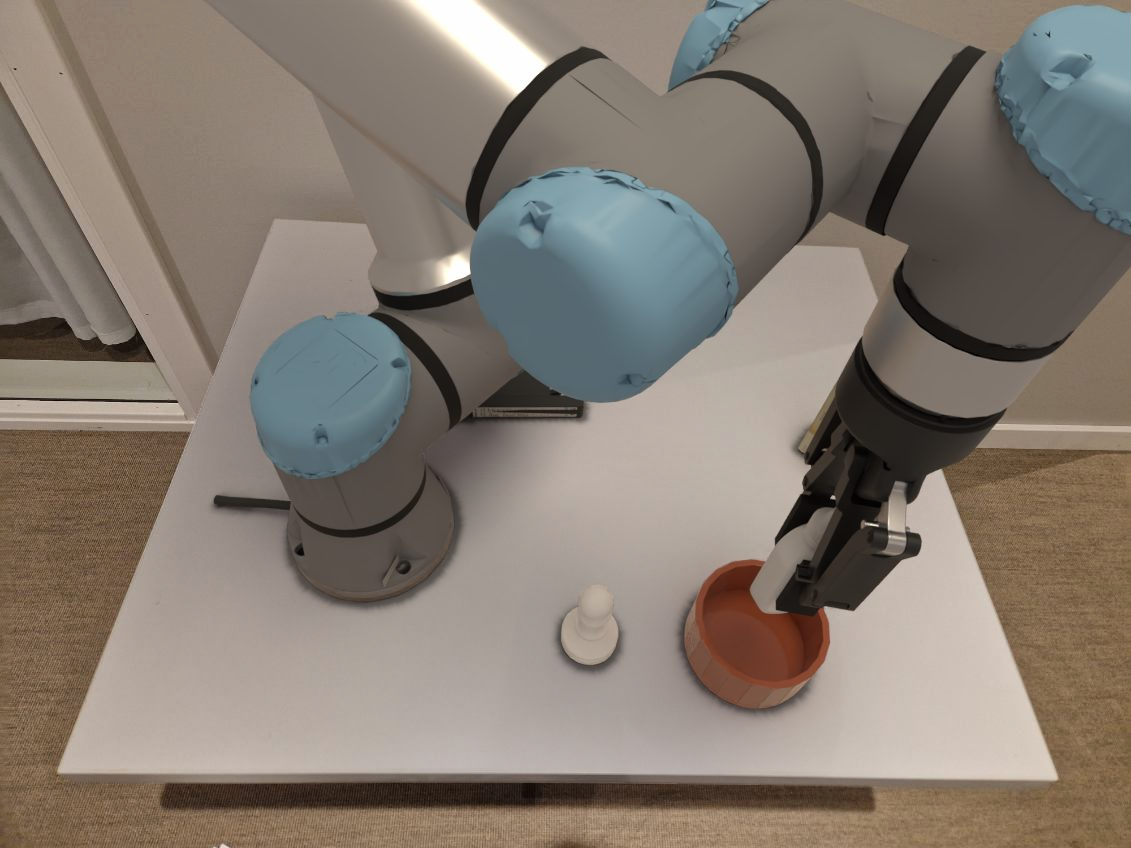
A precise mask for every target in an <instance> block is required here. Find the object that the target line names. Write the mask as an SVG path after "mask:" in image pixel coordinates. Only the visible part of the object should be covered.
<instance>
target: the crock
mask: <svg viewBox="0 0 1131 848" xmlns="http://www.w3.org/2000/svg"><path fill="white" fill-rule="evenodd" d="M765 561H766V560H759V559H755V558H753V559H751V558H750V559H742V560H734V561H731V562H728V563H727V564H725V565H722V566H720V567H718V568H716V569H715V570H714V571H713V572H712V573H711V574H710V575H709V576H708V577H707V578H706V579H705V580H704V581H703V583H702V584H701V587H700V589H699V591H698V592H697V595H696V597H695V599H694V601H693V604H692V606H691V608H690V610H689V613H688V615H687V617H686V620H685V625H684V630H683V643H684V650H685V653H686V658H687V660H688V663H689V665H690V666H691V669H692V670H693V672H694V674H695V675H696V677H697V678H698V679H699V681H700V682H701V683H702V684H703V685H704V686H705V687H706V688H707V689H708V690H709V691H710V692H712V693H713V694H714V695H716V696H717V697H718V698H720V699H721V700H724V701H725V702H727V703H729V704H732V705H734V706H738V707H742V708H745V709H755V710H756V709H757V710H758V709H768V708H773V707H776V706H778V705H781V704H783V703H785V702H786V701H788V700H790V698H792V697H794V696H795V695H796V694H797V693H798V692H799V691H800V690H801V689H802V688H803V687H804V686H805V685H806V684H807V683H808V682H809V681H810V680H811V679H812V678H813V677H814V675H815V674H816V673H817V672H818V671H819V669H820V668H821V667H822V665H823V664H824V663H825V661H826V659H827V655H828V651H829V648H830V645H831V635H830V622H829V618H828V616H827V614H826V610H825V607H824V608H820V609H819V610H818V612H817V613H816V614H815V615H814V617H812V616H806V615H800V614H795V613H789V612H788V613H781V614H768V613H764V612H762V611H761V610H760V609H759V607H758V606H757V604H756V602H755V600H754V599H753V597H752V595H751V593H750V587H751V585H752V583H753V582H754V580H755V578H756V577H757V575H758V573H759V571H760V570H761V568H762V566H763V565H764V563H765Z"/></svg>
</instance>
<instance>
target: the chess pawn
mask: <svg viewBox="0 0 1131 848" xmlns="http://www.w3.org/2000/svg"><path fill="white" fill-rule="evenodd" d="M614 602H615V600H614V596H613V594H612V592H611V590H609V589H608V588H607V587H606V586H604V585H602V584H591V585H589V586H586V587H585V588H583V590H582V591H581V592H580V595H579V598H578V604H577V606H576V607H574V608H573V609H571V610H570V611H569V612H568V613H567V614H566V616H565V617H564V619H563V621H562V624H561V629H560V641H561V646H562V648H563V650H564V652H565V653H566V655H568V657H569V658H570V659H572V660H573V661H574V662H576V663H579V664H581V665H585V666H586V665H587V666H594V665H598V664H601V663H603V662H605V661H607V660H608V659H609V658H610V657H611V656H612V654H613V653H614V652H615V650H616V646H617V643H618V640H619V627H618V623H617V621H616V619H615V618H614V616H613V614H612V613H613V612H612V611H613V609H614V604H615V603H614Z"/></svg>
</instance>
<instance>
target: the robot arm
mask: <svg viewBox="0 0 1131 848" xmlns="http://www.w3.org/2000/svg"><path fill="white" fill-rule="evenodd" d="M203 1H204V3H206V4H207V5H208V6H209V7H211V8H212V9H213V11H215V12H217V14H219V15H220V16H221V17H223V19H225V20H226V21H227V22H228V23H230V24H231V25H232V26H233V27H234V28H235V29H237V30H238V31H239V32H240V33H242V35H244V36H245V37H246V38H247V39H248V40H249V41H251V42H252V43H253V44H254V45H255V46H257V47H258V48H259V49H260V50H261V51H262V52H263V53H264V54H266V55H267V56H268V57H270V58H271V59H272V61H274V62H275V63H277V64H278V65H279V66H280V67H281V68H283V69H284V71H286V72H287V73H288V74H290V75H291V76H292V77H293V78H294V79H295V80H297V81H298V82H299V83H300V84H301V85H302V86H303V87H305V89H307V90H308V91H310V94H311V96H312V97H313V100H314V102H315V105H316V107H317V109H318V112H319V114H320V116H321V119H322V121H323V123H324V126H325V128H326V131H327V134H328V136H329V139H330V140H331V143H332V146H333V148H334V150H335V152H336V155H337V157H338V160H339V162H340V165H341V167H342V170H343V172H344V175H345V177H346V179H347V182H348V184H349V187H350V188H351V191H352V193H353V196H354V199H355V201H356V203H357V205H358V208H359V211H360V213H361V215H362V218H363V221H364V222H365V225H366V227H367V230H368V233H369V234H370V237H371V239H372V242H373V244H374V247H375V249H376V253H375V255H374V257H373V259H372V261H371V263H370V265H369V267H368V271H367V277H368V278H367V279H368V281H369V284H370V286H371V289H372V290H373V292H374V295H375V298H376V300H377V303H378V307H377V308H376V309H373V311H371V312H370V313H369V314H362V313H359V312H347V311H344V312H337V313H336V314H335V316H334V317H333V318H327V316H326V315H324V314H322V315H317V316H314V317H310V318H309V319H306V320H304V321H302V322H299V323H297V324H296V325H294V326H292V327H290V328H289V329H288V330H286V331H285V332H283V333H282V334H281V335H280V336H279V337H277V338H276V339H275V340H274V341H273V342H272V343H271V344H270V345H269V346H268V347H267V349H266V350H265V352H264V353H263V354H262V356H261V357H260V359H259V361H258V362H257V364H256V367H255V369H254V372H253V374H252V377H251V382H250V391H249V405H250V411H251V415H252V417H253V421H254V423H255V429H256V434H257V438H258V442H259V444H260V446H261V448H262V451H263V452H264V454H265V456H266V457H267V458H268V460H270V461H271V463H272V465H273V467H274V469H275V471H276V473H277V476H278V478H279V480H280V482H281V484H282V486H283V489H284V490H285V492H286V495H287V497H288V499H289V500H286V499H285V500H283V499H272V498H271V499H270V498H260V497H259V498H258V497H241V496H228V495H220V494H216V495H215V496H214V497H213V504H215V505H219V506H226V507H240V508H242V507H243V508H258V509H269V510H282V511H289V514H288V519H287V527H286V535H287V543H288V548H289V550H290V553H291V556H292V557H293V560H294V562H295V564H296V566H297V568H298V569H299V570H300V572H301V574H302V575H303V577H305V580H307V581H308V582H309V583H310V584H311V585H312V586H314V587H315V588H316V589H318V590H320V591H321V592H323V593H325V594H327V595H329V596H330V597H334V598H337V599H340V600H345V601H350V602H351V601H352V602H373V601H380V600H384V599H385V600H386V599H389V598H392V597H395V596H398V595H400V594H403V593H405V592H406V591H409V590H410V589H413V588H414V587H416V586H417V585H419V584H420V583H421V582H423V581H424V580H425V579H427V578H428V576H430V575H431V574H432V573H433V572H434V571H435V569H437V568H438V566H439V564H440V563H441V562H442V561H443V559H444V557H446V554H447V552H448V550H449V548H450V545H451V542H452V539H453V534H454V524H455V523H454V522H455V520H454V510H453V504H452V498H451V496H450V492H449V490H448V488H447V486H446V484H445V483H444V480H443V479H442V478H441V477H440V476H439V475H438V473H437V472H436V471H434V470H433V469H432V468H431V467H430V465H428V464H427V463H426V461H425V453H426V452H427V450H429V449H430V448H431V447H432V446H434V445H435V444H436V443H437V442H438V441H439V440H441V439H442V438H443V437H444V436H445V435H446V434H447V433H449V432H450V431H451V430H452V429H453V428H454V427H455V426H457V425H459V424H460V423H461V422H463V420H464V419H466V418H465V417H467V416H468V415H469V414H470V413H471V412H472V411H474V410H475V409H476V408H477V407H478V406H480V405H481V404H482V403H483V402H484V401H485V400H487V399H488V398H489V397H490V396H491V395H493V394H494V393H495V392H496V391H497V390H499V389H500V388H501V387H502V386H503V385H504V384H506V383H507V382H508V381H509V380H510V379H512V378H514V377H516V376H517V375H519V374H520V373H521V372H523V370H525V371H527V372H528V373H529V374H530V375H532V376H533V377H534V378H536V379H537V380H538V381H540V382H541V383H543V384H544V385H546V386H548V387H550V388H551V389H553V390H555V391H557V392H559V393H561V394H563V395H565V396H568V397H571V398H574V399H578V400H582V401H584V402H588V403H596V404H608V403H617V402H621V401H625V400H629V399H632V398H633V397H636V396H637V395H640V394H641V393H644V392H645V391H646V390H648V389H649V388H650V387H652V385H654V384H655V383H656V382H657V381H658V380H660V378H662V377H663V376H664V375H665V374H666V373H667V372H669V371H670V370H671V369H672V368H673V367H674V366H675V365H677V363H679V362H680V361H681V360H682V359H683V358H685V357H686V356H687V355H688V354H689V353H691V352H692V351H693V350H695V349H696V348H698V347H699V346H700V345H702V343H703V342H704V341H706V340H707V339H711V338H713V337H715V336H717V334H718V333H719V332H720V331H721V330H722V329H723V327H725V326H726V324H727V323H728V322H729V320H730V318H731V317H732V315H733V311H734V310H735V308H736V307H737V306H738V305H739V304H740V303H741V302H742V301H743V300H744V299H745V298H746V297H747V296H748V295H749V294H750V293H751V292H752V291H753V290H754V289H755V288H756V287H757V285H758V284H759V283H760V282H762V281H763V279H764V278H766V276H767V275H768V274H769V273H770V272H771V271H772V270H773V269H774V268H775V267H776V266H777V265H778V264H779V263H780V262H781V261H782V260H783V259H784V258H785V256H787V255H788V254H789V253H790V252H791V251H792V250H793V248H795V246H797V245H799V243H800V242H802V241H803V240H804V239H805V238H806V237H807V236H808V235H809V234H810V233H811V232H812V231H813V230H814V228H816V227H817V225H818V224H820V222H822V221H823V220H824V218H825V217H826V216H827V215H828V214H829V213H831V214H833V215H835V216H837V217H839V218H842V219H843V220H846V221H848V222H851V223H854V224H855V225H858V226H861V228H865V229H867V230H869V231H871V232H873V233H876V234H878V235H879V236H882V237H886V236H887V237H890V238H891V239H894V240H896V241H898V242H900V243H902V244H905V245H907V249H906V252H905V253H904V255H903V256H902V258H901V260H900V262H899V263H898V265H897V266H896V268H894V269H893V272H892V274H891V276H890V278H889V279H888V282H887V283H886V284H885V285H886V286H885V287H884V289H883V290H882V293H881V295H880V297H879V298H878V301H877V303H876V304H875V306H874V308H873V309H872V312H871V314H870V315H869V317H868V319H867V320H866V321H867V322H866V323H865V325H864V327H863V331H862V335H861V337H860V338H859V340H858V341H857V343H856V345H855V347H854V348H853V350H852V352H851V354H850V356H849V357H848V360H847V361H846V364H845V366H844V368H843V369H842V371H841V373H840V375H839V377H838V379H837V380H838V381H837V380H836V382H837V384H836V383H835V384H836V389H835V397H834V399H833V401H832V403H831V405H830V406H829V408H828V410H827V412H826V414H825V416H824V418H823V420H822V422H821V423H820V425H819V427H818V429H817V431H816V433H815V435H814V437H813V439H812V440H811V442H810V444H809V446H808V448H807V450H806V452H805V454H804V453H803V460H804V464H805V465H807V466H810V469H809V470H808V471H806V473H805V474H804V475H803V479H802V481H801V485H802V492H801V493H800V494H799V495H798V497H797V499H796V501H795V502H794V504H793V506H792V507H791V509H790V511H789V513H788V515H787V516H786V518H785V520H784V521H783V524H782V525H781V527H780V528H779V530H778V532H777V534H776V535H775V537H774V547H775V546H776V544H777V543H778V542H779V541H780V540H781V539H782V538H783V537H784V536H785V535H786V534H787V533H789V532H790V531H792V530H793V529H795V528H797V527H799V526H801V525H804V524H807V523H808V522H809V520H810V519H811V517H812V516H813V514H814V513H815V512H816V511H817V510H818V509H820V508H823V507H824V508H825V507H826V508H827V507H828V508H833V509H834V508H835V507H836V508H835V510H834V512H833V515H832V517H831V519H830V521H829V523H828V525H827V528H826V530H825V532H824V534H823V536H822V538H821V540H820V543H819V545H818V547H817V549H816V551H815V553H814V556H813V558H812V560H811V561H810V560H805V559H803V560H802V562H801V563H800V564H797V565H796V570H795V572H794V574H793V575H792V577H791V578H790V580H789V581H788V583H787V584H786V586H785V587H784V589H783V590H782V592H781V593H780V595H779V596H778V598H777V599H776V610H777V611H783V612H789V613H795V614H800V615H806V616H812V617H814V615H815V614H816V613H817V612H818V610H819V609H820V608H824V609H825V607H827V608H833V609H838V610H842V611H843V610H844V611H850V612H855V611H856V610H857V608H859V607H860V606H861V604H862V603H863V602H864V601H865V600H866V599H867V598H868V597H869V596H870V595H871V594H872V593H873V592H874V591H875V589H876V588H877V587H878V586H879V585H881V583H882V582H883V581H884V580H885V579H886V578H887V576H888V575H890V573H891V572H892V571H893V570H894V569H895V568H897V566H898V565H899V564H900V563H901V561H904V560H908V559H911V558H915V557H917V556H918V555H919V554H920V553H921V550H922V543H923V540H922V536H921V534H920V533H918V532H913V531H912V532H911V528H910V527H909V526H908V525H907V509H908V508H907V505H908V506H909V505H910V504H912V503H914V501H916V500H917V498H918V496H919V494H920V493H921V489H922V487H923V484H924V482H925V480H926V478H927V476H928V475H931V474H933V473H935V472H937V471H939V470H942V469H944V468H945V469H946V468H947V467H950V466H953V465H955V464H957V463H959V462H961V461H963V460H965V459H966V458H968V457H969V456H970V455H971V454H972V453H973V452H974V451H975V450H976V448H977V447H979V445H980V443H982V442H983V440H984V439H985V438H986V437H987V436H988V434H990V432H991V431H992V430H993V428H994V427H995V426H996V425H997V424H998V422H999V421H1000V420H1001V419H1002V417H1003V416H1004V415H1005V413H1006V412H1007V410H1008V407H1010V406H1011V405H1012V404H1013V403H1014V402H1015V401H1016V400H1017V398H1018V397H1019V396H1020V395H1021V394H1022V393H1023V392H1024V390H1025V389H1026V387H1027V386H1028V385H1029V384H1030V383H1031V382H1032V380H1033V379H1034V378H1035V377H1036V375H1037V374H1038V373H1040V370H1042V368H1043V367H1044V366H1045V364H1046V363H1047V362H1048V361H1049V360H1050V358H1051V357H1053V355H1054V354H1055V352H1057V350H1058V349H1059V348H1060V347H1061V346H1062V345H1063V344H1065V343H1066V341H1067V340H1068V339H1069V338H1070V337H1071V336H1072V335H1073V334H1074V332H1075V331H1076V330H1077V329H1078V327H1080V325H1081V324H1082V323H1083V322H1084V321H1085V320H1086V318H1087V317H1088V316H1089V315H1090V314H1091V313H1092V312H1093V311H1094V309H1095V308H1096V307H1097V306H1098V305H1099V304H1100V302H1101V301H1103V300H1104V298H1105V297H1106V296H1107V295H1108V293H1109V292H1110V291H1111V290H1112V289H1114V287H1115V286H1116V285H1117V283H1118V282H1119V281H1120V280H1121V279H1122V278H1123V277H1124V275H1125V274H1126V273H1127V272H1128V271H1129V269H1130V268H1131V11H1130V12H1128V11H1122V10H1117V9H1115V8H1112V7H1109V6H1105V5H1102V4H1101V5H1100V4H1075V5H1067V6H1063V7H1059V8H1056V9H1053V10H1050V11H1047V12H1046V13H1044V14H1041V15H1040V16H1038V17H1036V19H1034V20H1033V21H1032V22H1031V23H1029V25H1027V26H1026V28H1025V29H1024V30H1023V32H1022V34H1021V35H1020V36H1019V38H1018V40H1017V41H1016V43H1015V44H1013V45H1012V46H1010V47H1008V49H1007V50H1006V51H1005V52H1004V53H1002V52H999V51H997V50H993V49H989V50H987V51H986V50H984V49H981V48H978V47H976V46H973V45H971V44H970V45H968V44H965V43H963V42H961V41H960V42H959V41H957V40H954V39H952V38H948V37H947V36H943V35H940V34H938V33H934V32H932V31H929V30H927V29H924V28H921V27H918V26H916V25H913V24H910V23H908V22H904V21H903V20H899V19H897V18H894V17H892V16H888V15H886V14H883V13H879V12H877V11H874V10H871V9H869V8H867V7H864V6H860V5H858V4H855V3H853V2H850V1H847V0H707V2H706V5H705V8H704V9H703V12H699V13H697V14H696V15H695V16H694V17H693V18H692V20H691V22H690V23H689V25H688V27H687V29H686V30H685V33H684V34H683V37H682V39H681V41H680V44H679V46H678V49H677V51H676V55H675V58H674V59H673V64H672V68H671V71H670V76H669V79H668V80H669V81H668V85H667V86H668V87H667V91H666V92H665V93H664V94H662V95H660V94H657V93H656V92H655V91H653V90H652V89H651V88H649V86H647V85H646V84H644V82H642V81H641V80H639V78H637V77H636V76H635V75H633V74H632V73H630V71H628V70H627V69H625V68H624V67H623V66H621V65H620V64H619V63H617V62H615V61H613V60H612V59H611V58H610V57H608V56H607V55H606V54H605V53H603V52H602V51H600V50H599V49H598V48H596V47H595V46H594V45H593V44H592V43H590V42H589V41H588V40H587V39H585V38H584V37H583V36H581V35H580V34H578V32H576V31H575V30H574V29H572V28H571V27H570V26H569V25H567V24H566V23H565V22H564V21H562V20H561V19H560V18H559V17H557V16H556V15H555V14H553V13H552V12H550V11H549V10H548V9H547V8H546V7H544V6H543V5H542V4H540V3H539V2H538V1H537V0H203ZM823 449H827V451H825V450H823ZM833 496H834V498H832V497H833Z"/></svg>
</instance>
